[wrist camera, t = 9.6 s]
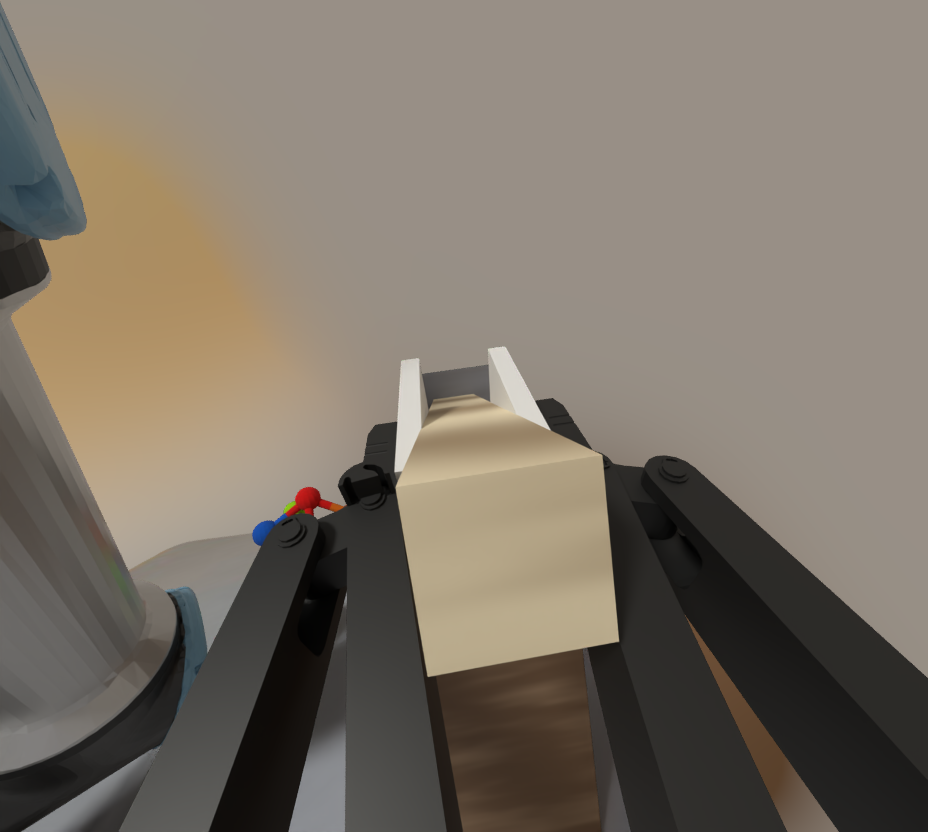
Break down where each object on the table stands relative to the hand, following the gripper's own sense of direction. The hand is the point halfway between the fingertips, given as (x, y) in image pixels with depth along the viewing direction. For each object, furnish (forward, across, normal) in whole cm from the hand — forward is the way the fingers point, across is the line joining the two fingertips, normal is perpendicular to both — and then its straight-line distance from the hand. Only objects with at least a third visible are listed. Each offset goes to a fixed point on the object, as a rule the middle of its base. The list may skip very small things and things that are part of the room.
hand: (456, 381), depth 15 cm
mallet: (+1, 0, -5) cm, 6 cm away
